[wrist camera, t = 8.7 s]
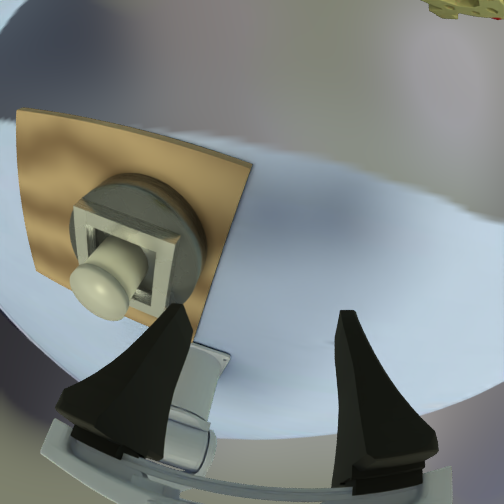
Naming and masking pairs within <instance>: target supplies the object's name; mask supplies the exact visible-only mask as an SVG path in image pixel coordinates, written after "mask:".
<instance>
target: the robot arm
mask: <svg viewBox="0 0 504 504" xmlns="http://www.w3.org/2000/svg"><path fill="white" fill-rule="evenodd" d="M192 336H193V328H192V326H191V323H190V321H189V318H188V315H187V313H186V310H185V307H184V305H183V304H178V303H171V305H170V306H169V307H168V308H167V309H166V310H165V311H164V312H163V313H162V314H161V315H160V316H159V317H158V318H157V319H156V321H155V322H154V323H153V324H152V325H151V326H150V327H149V328H148V329H147V330H146V331H145V332H144V333H143V334H142V335H141V336H140V337H139V338H138V339H137V340H136V341H135V342H134V343H133V344H132V345H131V346H130V347H129V348H128V349H127V350H126V351H124V352H123V353H122V354H121V355H120V356H118V357H117V358H116V359H115V360H113V361H112V362H111V363H109V364H108V365H106V366H105V367H104V368H102V369H101V370H99V371H98V372H96V373H95V374H93V375H91V376H90V377H88V378H86V379H84V380H82V381H80V382H78V383H76V384H74V385H72V386H70V387H68V388H65V389H64V390H63V392H62V394H61V396H60V398H59V400H58V402H57V404H56V406H55V409H56V411H57V412H59V413H60V414H61V415H62V416H64V417H65V418H66V419H68V420H69V421H70V422H72V423H73V424H75V425H74V428H71V427H70V426H68V425H67V424H64V423H63V422H61V421H59V420H58V419H56V418H55V419H54V420H53V423H52V425H51V427H50V429H49V432H48V434H47V436H46V439H45V441H44V444H43V446H42V448H41V451H40V453H41V454H42V455H43V456H45V457H46V458H48V459H49V460H50V461H52V462H53V463H54V464H56V465H57V466H59V467H60V468H62V469H63V470H64V471H66V472H67V473H69V474H70V475H71V476H73V477H74V478H76V479H78V480H79V481H80V482H82V483H83V484H85V485H86V486H88V487H89V488H91V489H93V490H94V491H96V492H98V493H99V494H101V495H103V496H104V497H106V498H108V499H110V500H112V501H113V502H115V503H117V504H202V503H198V502H193V501H189V500H186V499H181V498H179V495H180V492H183V491H186V490H189V489H193V488H196V489H200V490H204V491H209V492H214V493H219V494H225V495H231V496H237V497H244V498H252V499H261V500H273V501H291V502H322V503H320V504H452V469H451V466H448V467H445V468H441V469H438V470H434V471H430V472H427V473H424V474H423V473H422V469H423V468H425V460H427V459H429V458H430V457H432V456H434V455H435V454H437V452H438V451H439V449H438V441H437V437H436V433H435V431H434V430H433V429H432V428H431V427H430V426H429V425H428V424H427V423H426V422H425V421H424V420H423V419H422V418H421V417H420V416H419V415H418V414H417V413H416V411H415V410H414V409H413V408H412V407H411V406H410V405H409V403H408V402H407V401H406V400H405V398H404V397H403V396H402V395H401V394H400V392H399V391H398V389H397V388H396V387H395V385H394V384H393V382H392V381H391V380H390V378H389V377H388V375H387V373H386V372H385V370H384V369H383V367H382V365H381V364H380V362H379V360H378V359H377V357H376V355H375V353H374V351H373V349H372V347H371V345H370V343H369V342H368V340H367V338H366V335H365V333H364V331H363V329H362V327H361V324H360V322H359V320H358V317H357V315H356V312H355V311H354V310H340V314H339V319H338V324H337V329H336V334H335V367H336V377H337V388H338V401H339V414H338V433H337V446H336V456H335V464H334V471H333V478H332V487H331V488H319V489H318V488H315V489H304V488H298V489H297V488H278V487H264V486H255V485H247V484H239V483H232V482H226V481H221V480H215V479H210V478H205V475H206V473H207V470H208V469H209V468H210V466H211V463H212V461H213V459H214V455H215V452H216V446H217V438H216V435H215V433H214V431H213V430H210V429H209V428H210V424H211V423H210V422H207V421H208V417H209V413H210V409H211V405H212V401H213V397H214V393H215V389H216V385H217V381H218V379H219V377H220V375H221V374H222V372H223V370H224V369H225V367H226V365H227V363H228V362H229V360H230V355H228V354H225V353H222V352H219V351H216V350H213V349H210V348H207V347H204V346H201V345H199V344H196V343H191V340H192ZM143 458H144V459H143ZM145 458H149V459H152V460H155V461H158V462H161V463H164V464H167V465H170V466H173V467H176V468H180V469H183V470H185V471H179V470H175V469H171V468H168V467H165V466H162V465H159V464H157V463H154V462H151V461H148V460H146V459H145Z"/></svg>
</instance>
